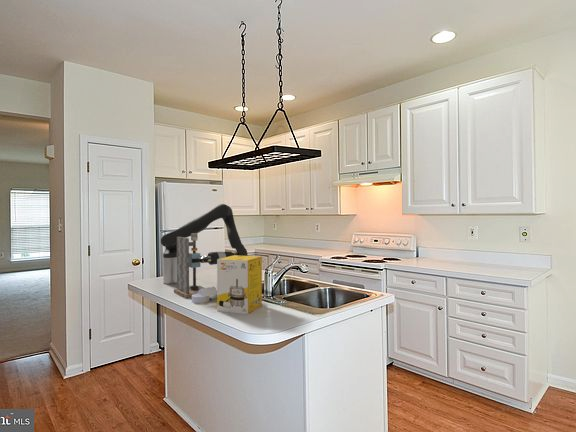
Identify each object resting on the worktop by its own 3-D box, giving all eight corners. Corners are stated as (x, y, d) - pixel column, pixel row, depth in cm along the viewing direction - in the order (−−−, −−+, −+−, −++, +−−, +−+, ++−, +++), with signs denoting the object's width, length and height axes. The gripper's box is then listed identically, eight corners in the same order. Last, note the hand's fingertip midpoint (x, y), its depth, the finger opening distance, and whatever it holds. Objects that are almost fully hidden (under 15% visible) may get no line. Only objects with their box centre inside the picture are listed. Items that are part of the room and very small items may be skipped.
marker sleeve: (188, 266, 209) (188, 253, 209) (196, 265, 212) (196, 252, 212) (191, 267, 205) (191, 253, 205) (200, 266, 208) (200, 253, 208)
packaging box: (217, 311, 171) (216, 259, 171) (233, 302, 187) (233, 255, 186) (247, 314, 166) (247, 260, 166) (261, 305, 181) (261, 256, 181)
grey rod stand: (174, 292, 210) (173, 233, 210) (199, 288, 220) (199, 232, 219) (185, 298, 196) (185, 235, 195) (212, 294, 206) (212, 233, 205)
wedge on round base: (210, 297, 199) (188, 301, 191) (210, 285, 199) (188, 288, 191) (218, 300, 192) (196, 304, 184) (218, 287, 192) (196, 291, 184)
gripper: (211, 250, 223) (185, 252, 212) (222, 252, 211) (195, 255, 201) (211, 262, 223) (185, 265, 212) (222, 265, 211) (195, 268, 201)
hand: (190, 260), depth 207 cm, fingers closed on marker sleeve, 5 cm apart
